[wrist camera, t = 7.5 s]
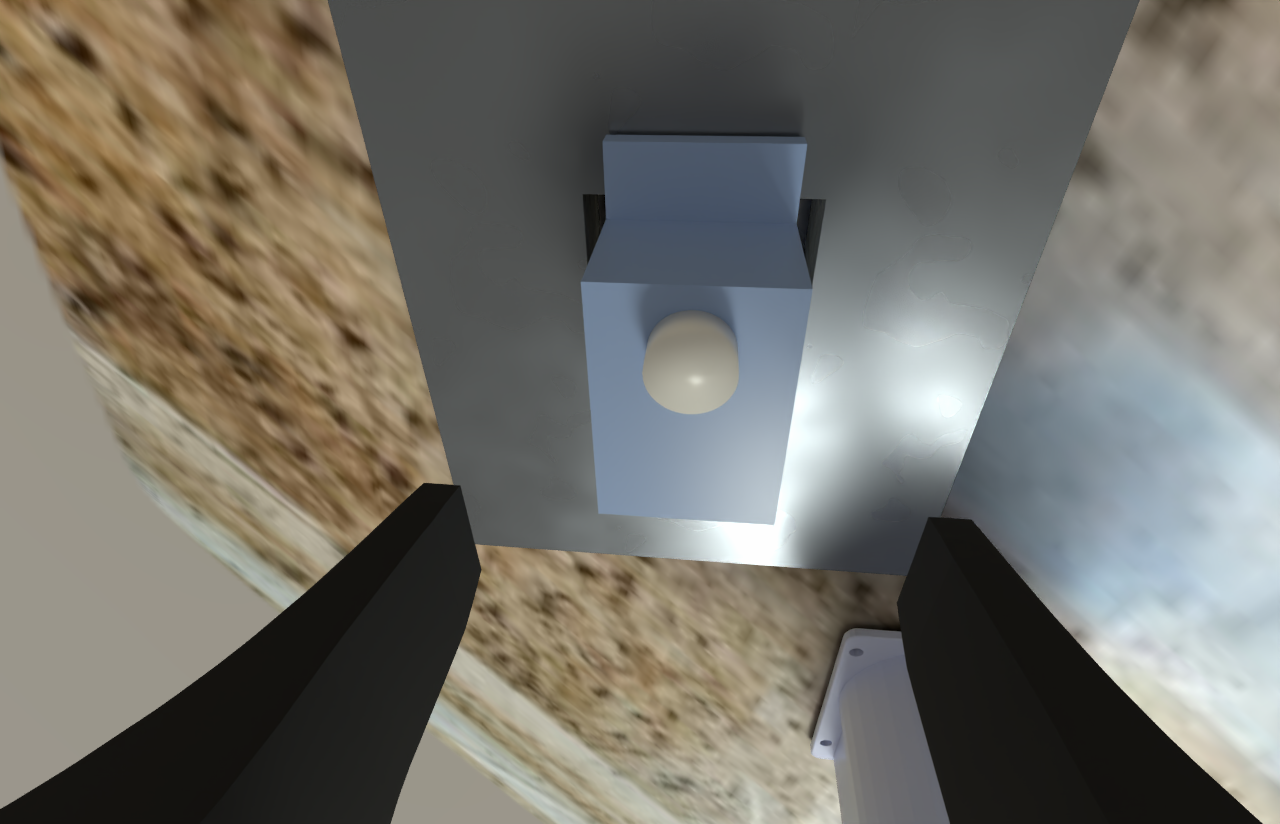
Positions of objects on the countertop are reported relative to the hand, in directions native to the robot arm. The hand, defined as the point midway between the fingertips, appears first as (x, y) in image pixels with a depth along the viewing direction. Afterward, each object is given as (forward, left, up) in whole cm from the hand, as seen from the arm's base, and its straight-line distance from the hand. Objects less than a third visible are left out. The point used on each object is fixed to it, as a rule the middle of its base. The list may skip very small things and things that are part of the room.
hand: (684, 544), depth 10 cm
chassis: (0, 0, -8) cm, 8 cm away
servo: (0, 0, -8) cm, 8 cm away
